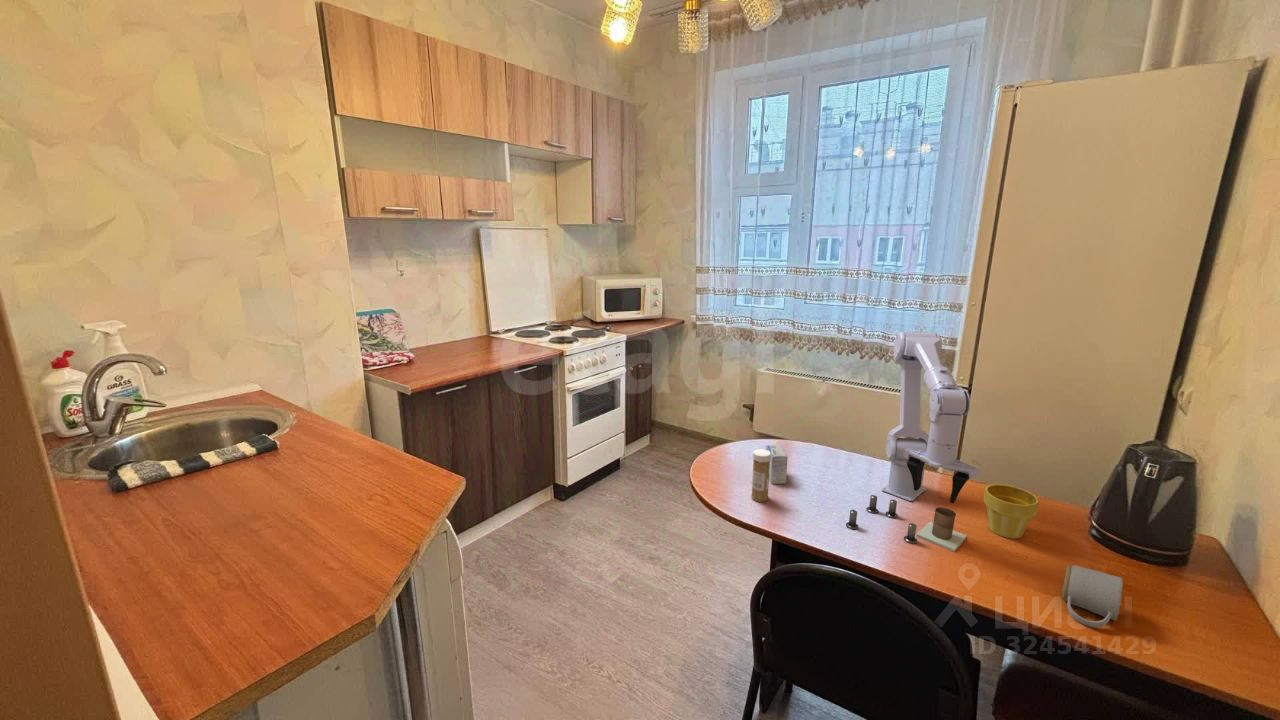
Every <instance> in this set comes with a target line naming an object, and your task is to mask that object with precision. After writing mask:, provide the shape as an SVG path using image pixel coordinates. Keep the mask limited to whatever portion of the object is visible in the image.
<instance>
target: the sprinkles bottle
mask: <svg viewBox="0 0 1280 720" xmlns="http://www.w3.org/2000/svg"><path fill="white" fill-rule="evenodd" d="M752 454H753V455H752V460H753V464H752V465H753V466H752V478H751V479H752V480H751V499H752V500H753V501H755V502H759V503H764V502H767V501H768V500H769V487H770V480H769V468H770V460H771V453H770V452H769V451H767V450H766V449H761V448H760V449H759V448H757V449H756V450H753V452H752Z"/></svg>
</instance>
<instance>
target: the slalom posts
mask: <svg viewBox="0 0 1280 720" xmlns="http://www.w3.org/2000/svg"><path fill="white" fill-rule="evenodd" d="M877 504H878V496H877V495H875V494H871V495H870V498H869V506H868V507H866V512H868V513H869V514H872V515H873V514H874V515H875V514H879V509H878V508H877ZM888 505H889V507H888V511H886V512H885V516H886V517H888V518H890V519H894V520H895V519H898V518H899V514H898V513H896V512H897V505H898V501H897V500H896V499H890V500H889V504H888ZM857 516H858V511H857V510H854V509H851V510H849V518H848V519H849V520H848V522H846V524H845V526H846V528H848V529H849V530H853V531H854V530H855V531H856V530H859V525H858V524H857V518H858V517H857ZM916 532H917V524H915V523H914V522H913V523H912V522H910V523H908V528H907V533H906V535H904V536H903V541H905V542H906V543H907V544H911V545H916V544H918V539H917V538H916V534H917V533H916Z"/></svg>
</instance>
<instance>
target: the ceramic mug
mask: <svg viewBox="0 0 1280 720" xmlns="http://www.w3.org/2000/svg"><path fill="white" fill-rule="evenodd" d="M1064 576H1065V577H1064V580H1063V581H1064V582H1063V585H1062V591H1061V597H1062V599H1063V600H1064V601H1066V602H1067V603H1066V605H1067V606H1066V607H1067V611H1068V613H1069V614H1070V616H1071V617H1072V618H1073V619H1074V620H1076V621H1077V622H1078V623H1079V624H1082V625H1084V626H1087V627H1090V628H1102V627H1105V626H1106V625H1107V624H1108V623H1109V622H1110V620H1112V621H1117V619H1118V618H1119V617H1118V616H1119V613H1120V609H1121V602H1122V594H1123V586H1124V578H1122V577H1120V576H1117V575H1112V574H1108V573H1104V572H1102V571H1098V570H1094V569H1090V568H1087V567H1083V566H1079V565H1071V564H1070V565H1067V566H1066V568H1065V575H1064ZM1072 605H1074V606H1076V607H1079V608H1081V609H1084V610H1087V611H1089V612H1091V613H1093V614H1097V615H1099V616H1102V617H1103V619H1101V620H1096V621H1094V620H1093V621H1092V620H1088V619H1086V618H1083V617H1082V616H1080V615H1079V614H1077V612H1076V611H1074V609H1073V607H1072Z"/></svg>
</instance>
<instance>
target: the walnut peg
mask: <svg viewBox="0 0 1280 720" xmlns="http://www.w3.org/2000/svg"><path fill="white" fill-rule="evenodd" d="M956 515H957V514H956V512H955V511H954V510H953V509H950V508H948V507H944V506H938V507H935V509H934V517H933V528H932V534H933V535H934V536H935V537H937V538H940V539H943V540H949V539H951V538H952V532H953V530H954V526H955V520H956Z"/></svg>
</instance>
